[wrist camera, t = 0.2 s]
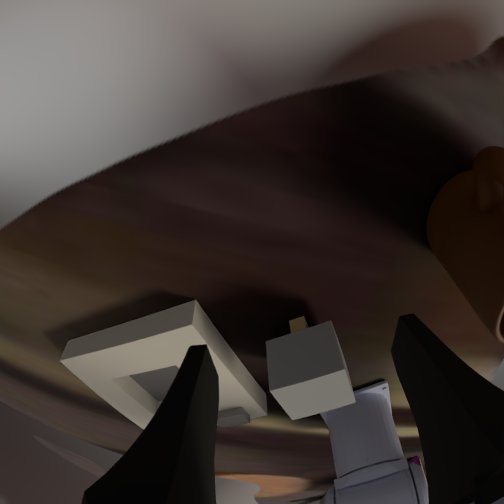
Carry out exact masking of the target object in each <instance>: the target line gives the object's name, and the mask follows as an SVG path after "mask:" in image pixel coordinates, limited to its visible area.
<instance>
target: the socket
mask: <svg viewBox="0 0 504 504" xmlns="http://www.w3.org/2000/svg"><path fill="white" fill-rule="evenodd" d="M203 344H207V347H208V349H209V352H210V355H211V357H212V360H213V363H214V365H215V368H216V371H217V373H218V376H219V408H218V419H217V425H219V426H220V427H221V428H223V427H229V426H235V425H240V424H246V423H250V419H252V418H257V417H262V416H266V415H267V400H266V393H265V392H264V391H263V390H262V388H261V387H260V386H259V385H258V383H257V382H256V381H255V379H254V378H253V377H252V375H251V374H250V373H249V372H248V370H247V369H246V368H245V366H244V365H243V364H242V362H241V361H240V360H239V358H238V357H237V356H236V354H235V353H234V352H233V350H232V349H231V348H230V346H229V345H228V344H227V342H226V341H225V340H224V338H223V337H222V336H221V334H220V333H219V331H218V330H217V329H216V327H215V326H214V324H213V323H212V322H211V320H210V319H209V318H208V316H207V315H206V313H205V312H204V310H203V309H202V308H201V306H200V305H199V303H198V302H197V300H193V301H190V302H187V303H184V304H181V305H178V306H175V307H172V308H169V309H166V310H163V311H160V312H157V313H154V314H151V315H148V316H144V317H141V318H138V319H135V320H132V321H129V322H126V323H123V324H119V325H116V326H113V327H110V328H107V329H104V330H100V331H97V332H94V333H91V334H88V335H84V336H81V337H78V338H75V339H71V340H68V342H67V345H66V347H65V349H64V351H63V354H62V356H61V358H60V362H62V363H63V364H64V365H65V366H66V367H67V368H68V369H69V370H70V371H71V372H72V373H73V374H75V375H76V376H77V377H78V378H79V379H80V380H81V381H82V382H84V383H85V384H86V385H87V386H88V387H89V388H91V389H92V390H93V391H94V392H95V393H97V394H98V395H99V396H100V397H101V398H103V399H104V400H105V401H106V402H108V403H109V404H110V405H111V406H113V407H114V408H115V409H117V410H118V411H119V412H121V413H122V414H123V415H124V416H126V417H127V418H129V419H130V420H131V421H133V422H134V423H135V424H137V425H138V426H140V427H141V428H142V429H145V428H146V426H147V425H148V423H149V422H150V420H151V419H152V417H153V416H154V414H155V413H156V411H157V409H158V408H159V406H160V404H161V402H162V401H163V399H164V397H165V396H166V394H167V392H168V390H169V388H170V386H171V384H172V382H173V380H174V379H175V377H176V375H177V372H178V370H179V368H180V366H181V364H182V362H183V360H184V357H185V355H186V353H187V350H188V348H189V347H190V346H191V345H203Z"/></svg>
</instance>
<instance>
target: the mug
mask: <svg viewBox="0 0 504 504" xmlns="http://www.w3.org/2000/svg"><path fill="white" fill-rule="evenodd" d="M426 230H427V239H428V242H429V245H430V247H431V249H432V251H433V253H434V255H435V256H436V257H437V259H438V260H439V261H440V263H441V264H442V265H443V267H444V268H445V269H446V271H447V272H448V273H449V275H450V276H451V278H452V279H453V281H454V282H455V283H456V285H457V286H458V288H459V289H460V290H461V292H462V293H463V295H464V296H465V298H466V299H467V300H468V302H469V303H470V305H471V306H472V308H473V309H474V311H475V312H476V314H477V315H478V317H479V318H480V319H481V321H482V322H483V323H484V325H485V326H486V327H487V328H488V329H489V331H490V332H491V333H492V335H493V336H494V338H495V339H496V340H497V341H499V342H501V343H504V148H502V147H498V146H489V147H486V148H484V149H482V150H481V151H480V152H479V153H478V154H477V155H476V157H475V159H474V163H473V167H472V170H468V171H465V172H462V173H459V174H457V175H456V176H454V177H453V178H451V179H450V180H449V181H448V182H447V183H446V184H445V185H444V186H443V187H442V188H441V189H440V190H439V192H438V193H437V195H436V196H435V198H434V200H433V202H432V205H431V207H430V210H429V213H428V217H427V226H426Z"/></svg>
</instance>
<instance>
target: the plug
mask: <svg viewBox="0 0 504 504" xmlns="http://www.w3.org/2000/svg"><path fill="white" fill-rule="evenodd" d="M289 324H290V330H291V334H288V335H285V336H281V337H278V338H275V339H272V340H268V341H266V352H267V364H268V377H269V390H270V392H271V393H272V395H273V396H274V397H275V399H276V400H277V401H278V403H279V404H280V405H281V406H282V408H283V409H284V410H285V412H286V413H287V414H288V415H289V417H290V418H291V419H292V420H295V419H299V418H303V417H307V416H311V415H315V414H318V413H322V412H326V411H329V410H333V409H336V408H339V407H343V406H346V405H349V404H352V403H355V402H356V400H355V396H354V392H353V388H352V385H351V381H350V377H349V374H348V370H347V366H346V363H345V359H344V356H343V353H342V350H341V347H340V344H339V341H338V338H337V336H336V333H335V330H334V327H333V324H332V321H331V320H330V321H327V322H324V323H321V324H318V325H316V326H312V327H308V324H307V322H306V320H305V317H304V316H302V317H299V318H296V319H293V320H290V321H289Z"/></svg>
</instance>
